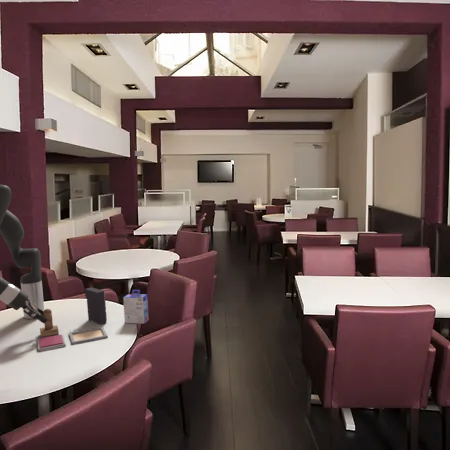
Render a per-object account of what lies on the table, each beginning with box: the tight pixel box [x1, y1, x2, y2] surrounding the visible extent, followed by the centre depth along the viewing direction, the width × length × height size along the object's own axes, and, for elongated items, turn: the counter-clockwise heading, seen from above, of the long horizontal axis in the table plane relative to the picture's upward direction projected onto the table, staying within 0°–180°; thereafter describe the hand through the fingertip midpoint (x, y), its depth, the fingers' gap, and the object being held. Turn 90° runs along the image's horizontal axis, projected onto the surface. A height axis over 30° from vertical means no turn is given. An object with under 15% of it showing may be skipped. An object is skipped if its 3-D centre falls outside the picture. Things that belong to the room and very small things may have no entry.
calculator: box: [84, 286, 108, 325], centre depth 199 cm, size 11×4×15 cm, turn 47°
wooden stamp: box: [39, 308, 60, 338], centre depth 184 cm, size 5×7×12 cm
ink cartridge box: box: [122, 289, 150, 325], centre depth 196 cm, size 10×6×14 cm, turn 78°
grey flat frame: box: [68, 326, 108, 345], centre depth 181 cm, size 12×14×1 cm
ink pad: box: [36, 334, 67, 352], centre depth 174 cm, size 11×10×2 cm
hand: (45, 318), depth 183 cm, fingers open, 8 cm apart
